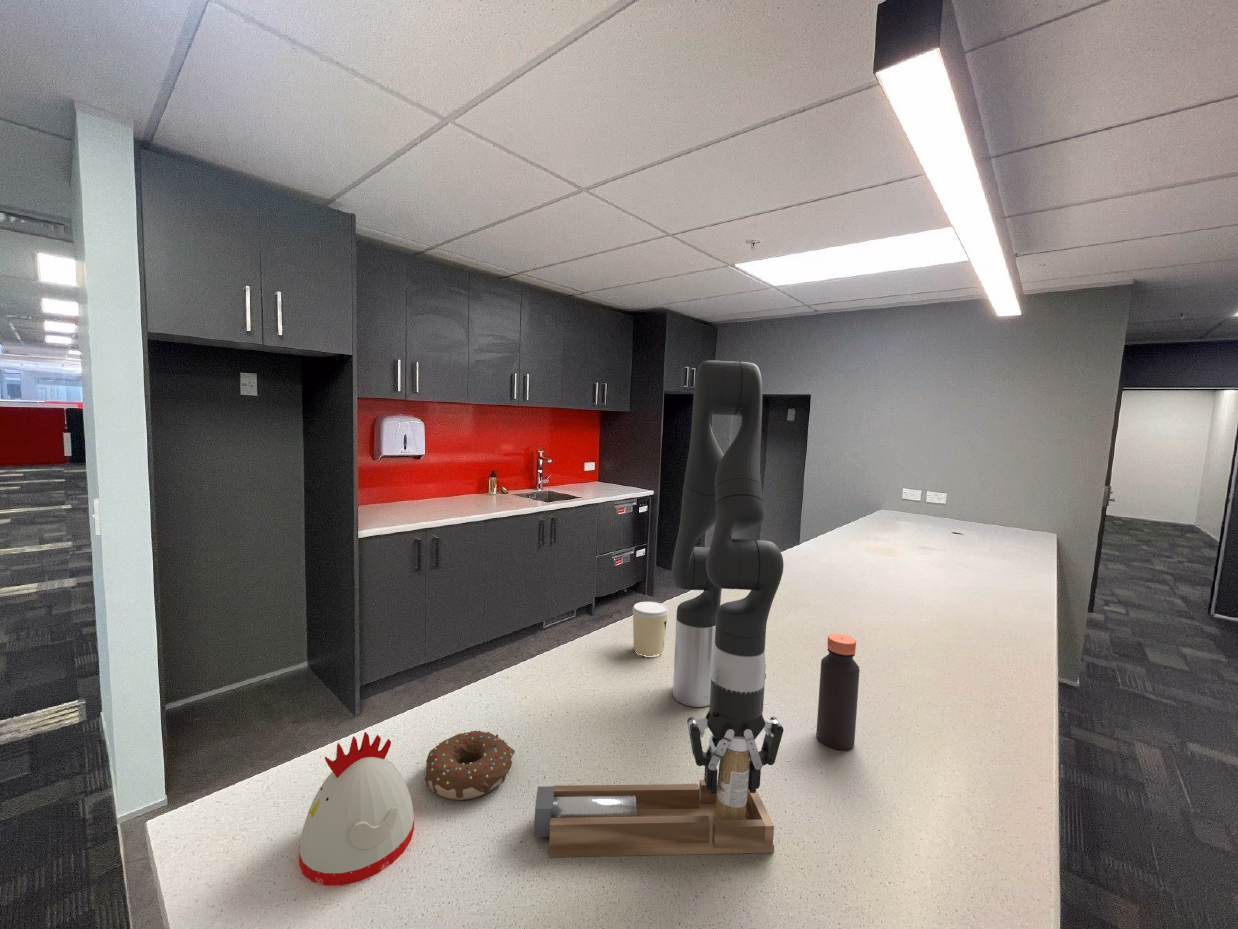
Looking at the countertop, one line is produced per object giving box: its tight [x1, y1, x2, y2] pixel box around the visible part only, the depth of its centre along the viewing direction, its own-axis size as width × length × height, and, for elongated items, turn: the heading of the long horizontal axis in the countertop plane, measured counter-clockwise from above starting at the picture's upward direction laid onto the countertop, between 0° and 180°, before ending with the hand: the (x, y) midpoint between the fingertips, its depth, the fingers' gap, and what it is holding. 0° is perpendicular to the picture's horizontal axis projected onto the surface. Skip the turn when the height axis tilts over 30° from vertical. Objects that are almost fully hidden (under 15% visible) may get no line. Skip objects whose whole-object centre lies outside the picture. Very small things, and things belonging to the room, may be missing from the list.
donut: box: [424, 730, 516, 801], centre depth 82 cm, size 14×14×5 cm
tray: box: [548, 779, 775, 858], centre depth 73 cm, size 9×31×4 cm, turn 94°
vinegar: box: [816, 633, 860, 751], centre depth 96 cm, size 7×7×20 cm
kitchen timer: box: [298, 731, 415, 886], centre depth 69 cm, size 14×14×15 cm
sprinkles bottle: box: [715, 737, 750, 820], centre depth 74 cm, size 5×5×13 cm
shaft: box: [533, 785, 637, 837], centre depth 72 cm, size 4×14×4 cm, turn 94°
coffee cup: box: [632, 601, 669, 656], centre depth 133 cm, size 9×9×12 cm
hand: (731, 789), depth 74 cm, fingers open, 5 cm apart
